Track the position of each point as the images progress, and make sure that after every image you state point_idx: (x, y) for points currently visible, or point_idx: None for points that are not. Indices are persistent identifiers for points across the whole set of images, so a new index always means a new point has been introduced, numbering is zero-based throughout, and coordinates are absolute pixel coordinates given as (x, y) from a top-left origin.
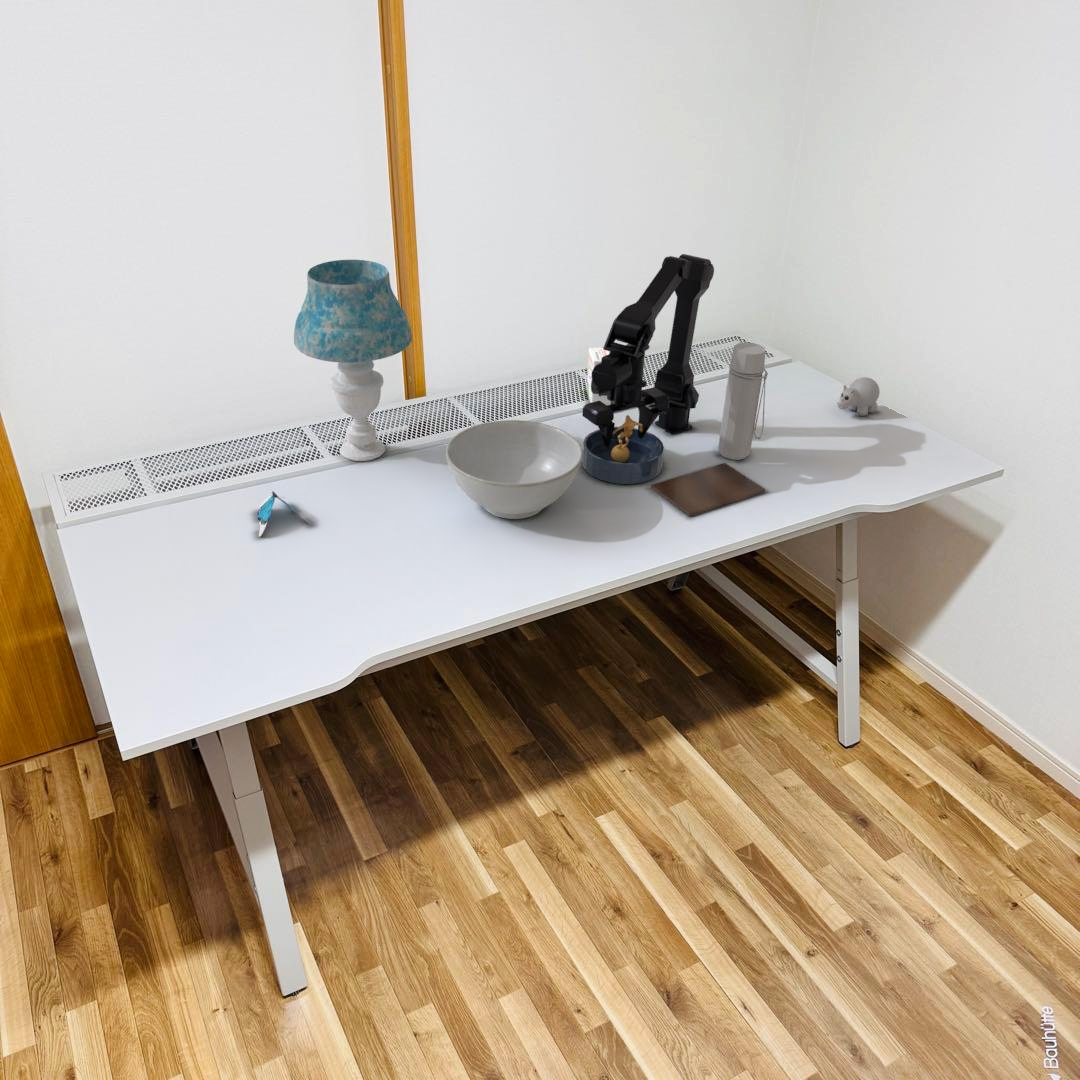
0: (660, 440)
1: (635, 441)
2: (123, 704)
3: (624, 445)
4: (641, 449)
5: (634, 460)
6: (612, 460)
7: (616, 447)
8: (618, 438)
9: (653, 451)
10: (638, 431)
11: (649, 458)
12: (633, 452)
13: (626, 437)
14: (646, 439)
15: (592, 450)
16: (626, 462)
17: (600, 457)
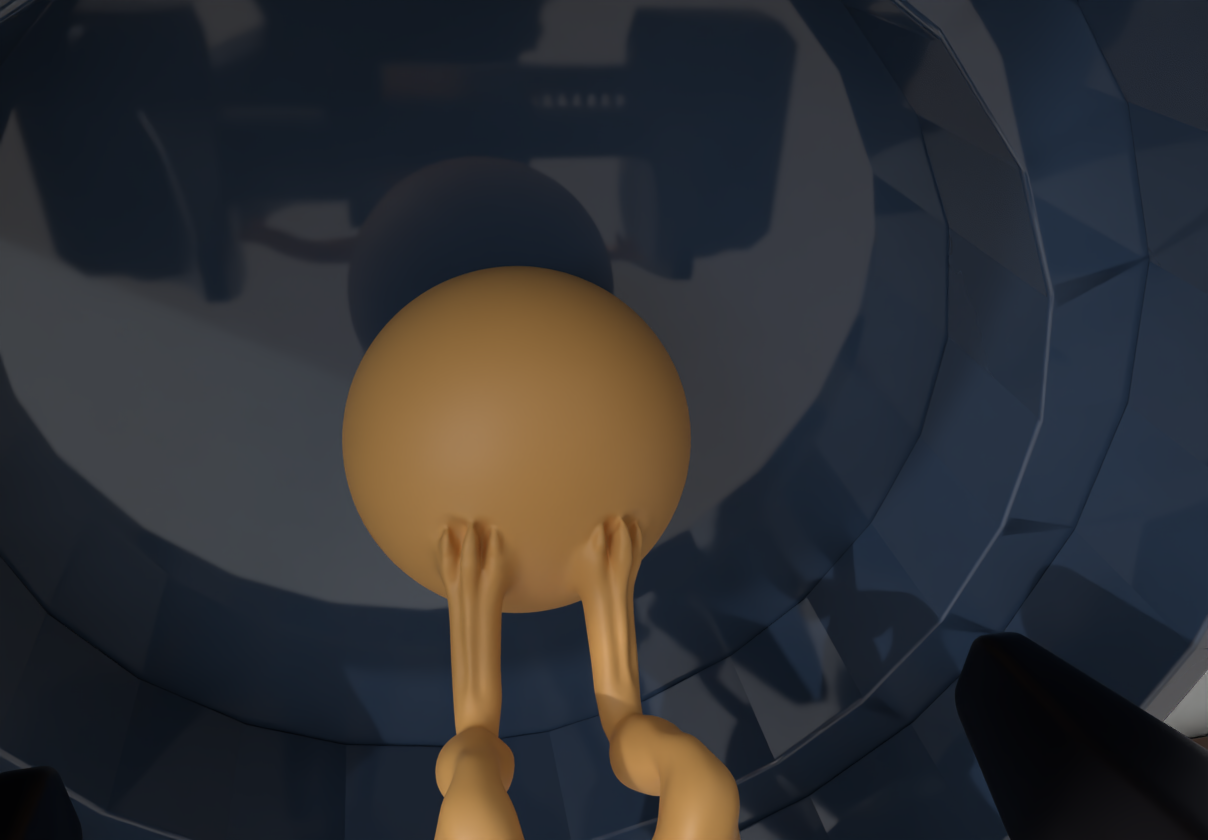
0: (1174, 706)
1: (1053, 217)
2: None
3: (586, 628)
4: (986, 305)
5: (721, 402)
6: (421, 266)
7: (446, 521)
8: (449, 797)
9: (971, 593)
10: (1060, 732)
11: (921, 428)
12: (889, 193)
13: (661, 793)
14: (1181, 368)
15: (4, 25)
16: None
17: (261, 64)
